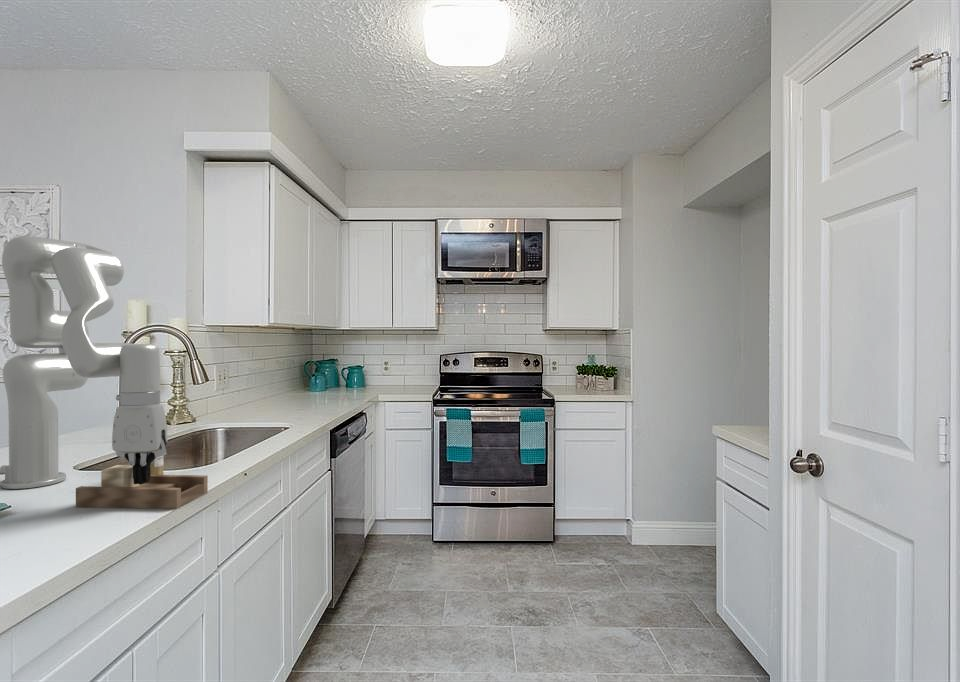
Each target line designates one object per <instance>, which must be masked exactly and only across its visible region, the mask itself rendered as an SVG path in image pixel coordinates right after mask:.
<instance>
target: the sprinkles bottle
mask: <svg viewBox="0 0 960 682" xmlns="http://www.w3.org/2000/svg"><path fill="white" fill-rule="evenodd" d="M156 451H157V449H156V450H155V451H154V452H156ZM164 460H165V459H164V455H163V456H160V457H156V458H155V459H154V460H153V463H151V464H150V472H151V475H164V464H165V463H164Z"/></svg>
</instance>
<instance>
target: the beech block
mask: <svg viewBox="0 0 960 682" xmlns="http://www.w3.org/2000/svg"><path fill="white" fill-rule="evenodd" d="M100 473H101V474H100V475H101V476H100V477H101V478H100V479H101V480H100V481H101V483H100V484H101V485H100V486H101V487H136V486H138V485H139V484H134V479H133V466H131V465H130V464H124V465H123V464H117V465H114V466H111V467H107V468H104V469H101V471H100Z"/></svg>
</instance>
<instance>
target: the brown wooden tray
mask: <svg viewBox="0 0 960 682" xmlns="http://www.w3.org/2000/svg"><path fill="white" fill-rule="evenodd" d="M208 482H209V481H208V475H205V474H202V475H195V474H194V475H193V474H192V475H191V474H163V475H151V476H150V481H149V482H146V483H144V484H139V485H138V486H136V487H101V485H99V486H92V485H91V486H86V485H85V486H84V485H81V486H78V487H75V508H106V509H107V508H108V509H110V508H111V509H113V508H114V509H155V510H156V509H161V510H163V509H165V510H169V509H170V510H178V509H179V508H182V507H183V506H185V505H187V504H189V503H191V502H193V501H195V500H197V499H198V498H201V497H202V496H204V495H206V494H208V493H209V491H208V488H209V487H208Z"/></svg>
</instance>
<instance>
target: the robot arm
mask: <svg viewBox="0 0 960 682" xmlns="http://www.w3.org/2000/svg"><path fill="white" fill-rule="evenodd" d="M1 267H2V271H3V275H4V277H5V280H6V284H7V288H8V294H9V300H8V301H9V329H10V331H9V332H10V337H11V341H12V342H13V344H14V345H15V346H18V347H20V348H24V349H25V348H26V349H58V353H57V352H54V353H47V352H46V353H45V352H44V353H27V354H26V353H25V354H20V355H16V356H13V357H11V358H9V359H8V360H7V361H6V362H5V364H4V365H3V368H2V378H3V383H4V388H5V392H6V396H7V397H6V398H7V407H8V409H7V411H8V412H7V413H8V465H7V464H5V465H4V464H3V465H1V466H0V476H1V475H4V479H3V480H1V481H0V487H1V488H3V489H7V490H8V489H9V490H19V489H20V490H21V489H22V490H23V489H31V488H39V487H45V486H51V485H53V484H54V485H55V484H58V483H60V482H63V481H65V480H66V479H67V473H65V472H63V471H59V411H58V410H59V409H58V406H57V404H56V403H55V402H54V400H53V399H52V397H50V395H49V394H48V393H50V392H60V391H68V390H69V391H71V390H76V389H80V388H82V387H83V386H85V384H86V383H87V382H88V379H96V378H97V379H98V378H107V377H108V378H109V377H110V378H111V377H119V383H120V384H119V387H120V388H119V394H116V396H115V400H116V401H119V402H120V404H119V405H120V406H117V407H116V409H115V413H114V417H113V421H112V435H111V447H112V450H113V452H115V455H116V457H121V458H125V459H126V460H127V461H128V463H129V465H131V466H133V479H134V484H144V483H146V482H149V481H150V476H151V472H150V464H151V463H153V460H154V459H155V458H156V457H160V456H163V457H164V456H166V455H167V448H166V447H167V446H168V437H169V436H168V425H167V417H166V413H165V407H164V405H163V404H161V367H160V365H161V363H160V362H161V361H160V360H161V359H160V358H161V357H160V356H161V354H160V348H159V346H157V345H156V344H154V343H130V342H98V343H97V342H96V343H94V342H91V340H90V335H89V334H90V333H89V328H88V323H87V322H90V321H93V320H95V319H98V318H100V317H102V316H105V315H106V314H107V313H109V312H110V311H111V310H112V309H113V307H114V304H115V301H114V298H113V296H112V294H111V292H110V289H109V288H108V287H113V286H116V285H118V284H120V283H121V281H122V280H123V278H124V276H125V275H124V273H125V271H124V270H125V269H124V265H123V263H122V261H121V259H120V257H118V255H116V254H115V253H112V252H111V251H108V250H106V249H102V248H99V247H95V246H92V245H89V244H85V243H81V242H75V241H69V240H68V241H67V240H60V239H56V238H49V237H42V236H35V235H34V236H33V235H31V236H30V235H27V236H26V235H22V236H17V237H13V238H11V239H10V240H9V241H8V242H6V244H5V246H4V247H3V251H2V255H1ZM42 273H43V274H51V275H55V276H56V278H57V281H58V283H59V285H60V288H61V291H62V292H63V295H64V298H65V300H66V301H67V304H68V307H69V308H70V310H56V309H55V303H54V292H53V289H52V286H51V285H50V283H49V282H48V281H47V279H45V278H44V276H42V275H41V274H42ZM156 449H157V451H156V452H154V451H155V450H156Z"/></svg>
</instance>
